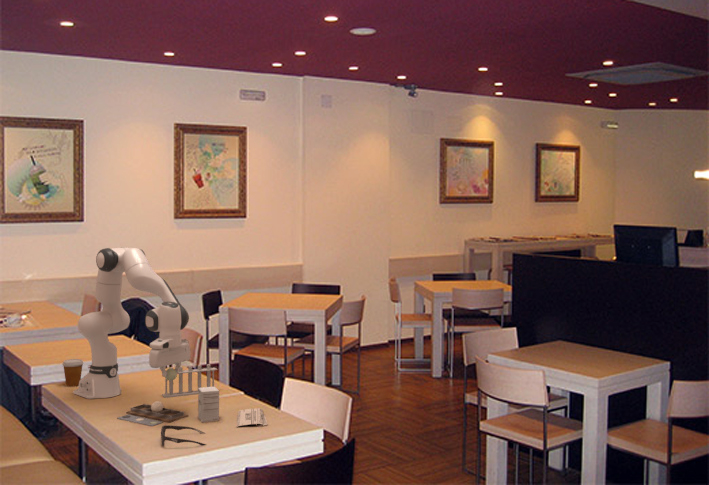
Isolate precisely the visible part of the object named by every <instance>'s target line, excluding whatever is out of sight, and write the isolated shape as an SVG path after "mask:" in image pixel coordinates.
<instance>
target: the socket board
mask: <svg viewBox="0 0 709 485" xmlns="http://www.w3.org/2000/svg"><path fill="white" fill-rule="evenodd" d="M151 405H152V404H147V403H141V404H138V405H135V406H132V407H130V410H128V411H127V410H126V414H125V415H128V414H129V415H134V416H138V417H143V418H147V419H152V420H157V421H161V422H163V423H167V424H168V423H169V424H170V423H173V422H176V421H178V420H182V419H185V418H188V417H189V414H187V413H185V411H181V410H177V409H171V408H167V407H163V410H162V411H161V412H158V413H155V412H152V410H151Z"/></svg>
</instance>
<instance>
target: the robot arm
mask: <svg viewBox="0 0 709 485" xmlns="http://www.w3.org/2000/svg"><path fill="white" fill-rule="evenodd" d="M95 259H96V260H95V261H96V266H97V268H98V271H97V273H96V274H97V276H96V281H95V292H94V298H95V300H96V301H97V302H98V303H101V306H102V310H100V311H94V312H93V311H91V312H89V313H88V312H87V313H86V314H83V315H81V316H80V317H79V319H78V320H77V329H78V331H79V334H80V335H82V336H83V337H85V338H86V340H87V341H88V343H89V346H90V352H91V365H90V364H89V365H88V366H87V368H88V369H89V370H88V373H86V374H85V375H84V376H83V377H81V380H80V381H79V386H78V388H77V389H75V390H73V391H72V393H73V394H74V395H77V396H79V397H81V398H84V399H91V400H92V399H104V398H105V399H106V398H107V399H108V398H111V397H116V396H118V395H121V394H122V388H121V386H120V377H119V376H120V375H119V373H118V372H119V363H118V347H117V346H116V344H114V343H113V342H111V341H110V339H109V335H111V334H116V333H119V332H122V331H124V330H126V329H128V328H129V326H130V323H131V318H130V315H129V314H128V312H127V311H126V310H125V309H124V308H123V305H122V300H121V297H122V296H121V295H122V294H121V293H122V283H123V274H125V276H126V279H127V280H128V283H129V285H131V287H132V288H133V289H135V290H137V291H142V292H147V293H150V294H153V295H155V296H158V297H159V298H160V299H161V300H162V303H160V304H159V306H158V307H155V308H153V309H149V310H148V311H147V312H146V314H145V316H144V324H145V327H146V328H147V329H148V330H149V332H155V333H157V332H159V334H158V335H159V336H158V338H156V339H155V340H152V342H150V343H149V348H150V350H149V357H148V359H149V360H148V362H149V363H148V364H149V366H150V368H153V369H160V371H161V376H162V377H164V378H165V377H166V376H168V372H166V370H167V366H171V365H175V367H174V369H175V370H176V372H177V375H179V374H178V373H179V369H180V367H182V363H183V362H187V361H190V360H191V349H190V344H189V340H188V339H186V338H183V339H182V330H184V328H185V327H187V325H188V323H189V320H190V316H189V315H190V314H189V313H188V311H187V309H186V308H185V306H183V305H182V304H181V303H180V301H179V300H178V298H177V297H176V295H175V293H174V292H173V290H172V288H171V287H170V285H169V284H168V282H167V281H166V280H165V278H163V277H161V276H159V274H157V273H156V272H155V270H154V269H153V268H152V266H151V264H150V261H149V260H148V257H147V256H146V254H145V251H144V250H143V249H141V248H139V247H126V246H125V247H124V246H123V247H122V246H121V247H112V248H110V247H106V248H102V249H100V250H99V251H98V252H97V254H96V257H95Z"/></svg>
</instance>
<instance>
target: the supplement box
mask: <svg viewBox="0 0 709 485" xmlns="http://www.w3.org/2000/svg"><path fill="white" fill-rule="evenodd" d="M197 390H198V394H197V395H198V396H197V398H198V400H197V402H198V403H197V407H198V408H197V411H198V412H197V413H198V414H197V415H198V416H197V417H198V419H199V420H200V421H201V423H208V422H217V421H220V390H219V389H218V388H217V387H216V386H214V387H212V386H210V387H207V386H205V387H204V386H203V387H201V388H198V387H197Z"/></svg>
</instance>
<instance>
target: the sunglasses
mask: <svg viewBox="0 0 709 485" xmlns="http://www.w3.org/2000/svg"><path fill="white" fill-rule="evenodd" d="M167 430H176V431H181V430H182V431H183V430H193V431H197V433H199V434H200V435H201V434H202V435H205V434H206V433H205V432H203V431H202V430H200V429H198V428H196V427H195V428H194V427H192V426H191V427H190V426H183V425H171V424H170V425H167V424H165V425H162V426H161V430H160V441H161V445H162V446H163V447H164V446H165V442H166V441H168V442H173V443H176V444H180V443H194V444H197V445H199V446H202V447H203V446H207V444H206V443H203V442H201V441H196V440H190V439H184V438H177V437H170V436H166V431H167Z"/></svg>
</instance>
